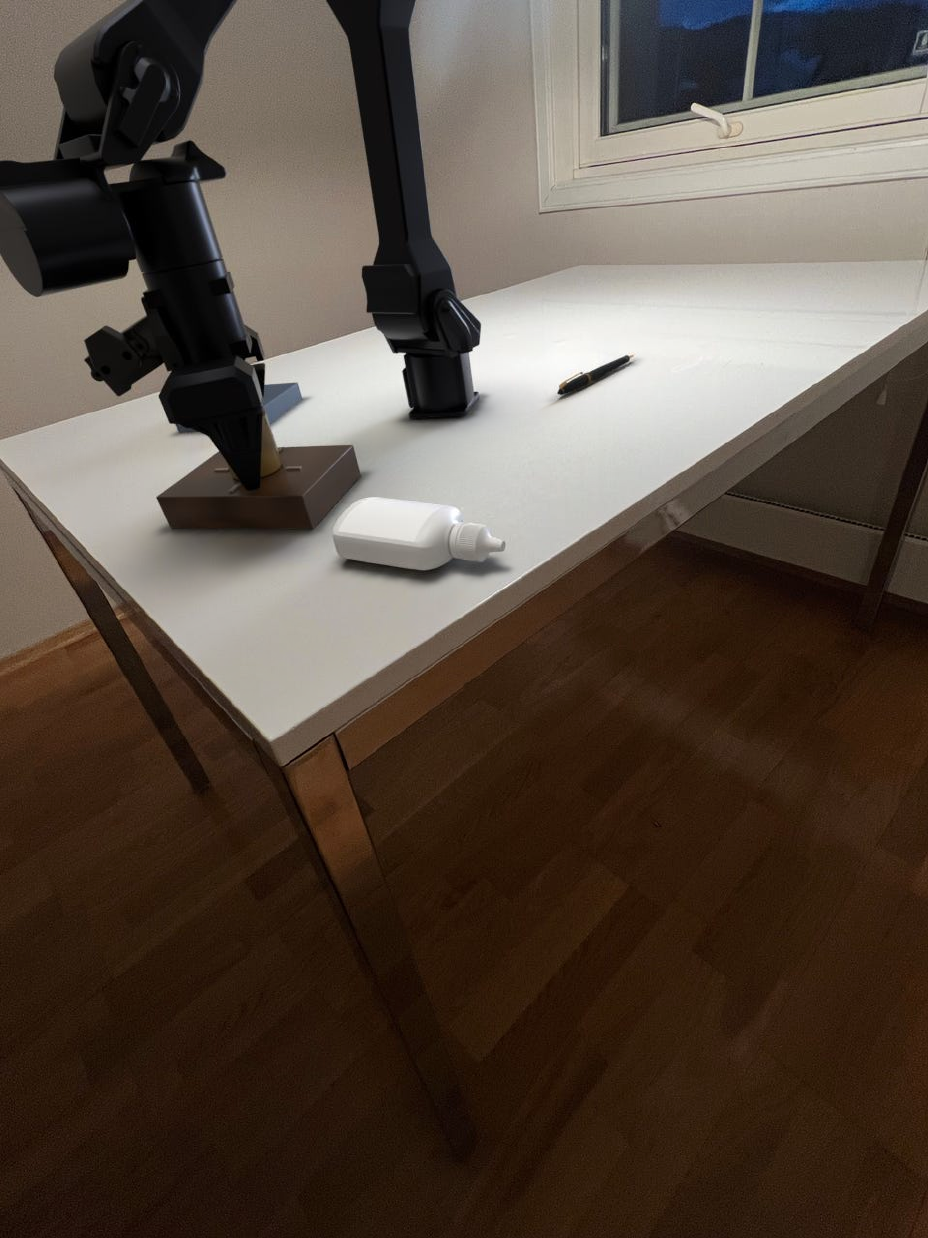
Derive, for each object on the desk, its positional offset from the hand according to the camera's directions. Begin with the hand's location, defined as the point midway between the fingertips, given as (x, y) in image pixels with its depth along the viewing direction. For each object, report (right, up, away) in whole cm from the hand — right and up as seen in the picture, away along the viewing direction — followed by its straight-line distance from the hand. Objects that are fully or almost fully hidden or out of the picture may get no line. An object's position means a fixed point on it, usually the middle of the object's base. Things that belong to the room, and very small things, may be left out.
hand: (254, 471), depth 54 cm
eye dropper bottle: (+10, -6, -8) cm, 14 cm away
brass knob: (0, 0, 0) cm, 1 cm away
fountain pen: (+33, +14, +17) cm, 39 cm away
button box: (-10, +13, +25) cm, 29 cm away
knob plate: (+1, -2, +2) cm, 3 cm away
